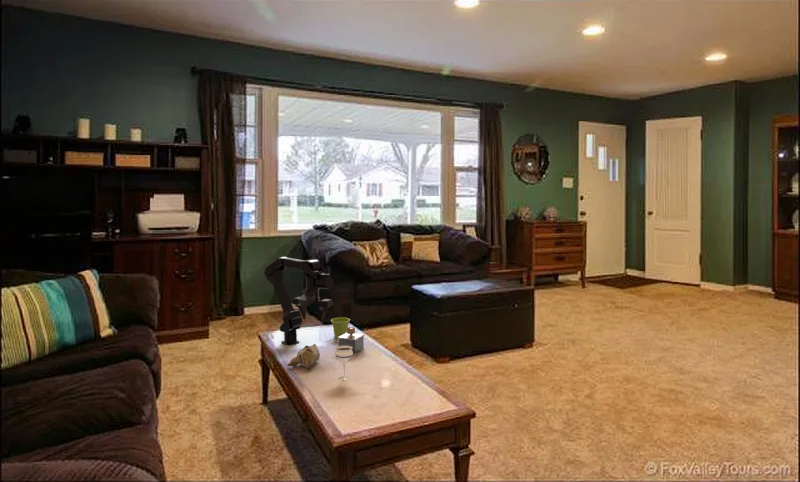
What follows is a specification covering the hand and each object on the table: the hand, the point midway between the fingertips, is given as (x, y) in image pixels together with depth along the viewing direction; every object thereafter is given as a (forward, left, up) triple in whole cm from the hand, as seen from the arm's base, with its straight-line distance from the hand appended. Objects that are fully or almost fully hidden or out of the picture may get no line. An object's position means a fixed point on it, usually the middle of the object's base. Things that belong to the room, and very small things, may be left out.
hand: (313, 320), depth 237 cm
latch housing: (+16, +10, -13) cm, 23 cm away
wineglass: (+42, -13, -13) cm, 46 cm away
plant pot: (-6, +20, -13) cm, 25 cm away
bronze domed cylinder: (+16, +10, -12) cm, 22 cm away
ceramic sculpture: (+19, -16, -13) cm, 28 cm away
